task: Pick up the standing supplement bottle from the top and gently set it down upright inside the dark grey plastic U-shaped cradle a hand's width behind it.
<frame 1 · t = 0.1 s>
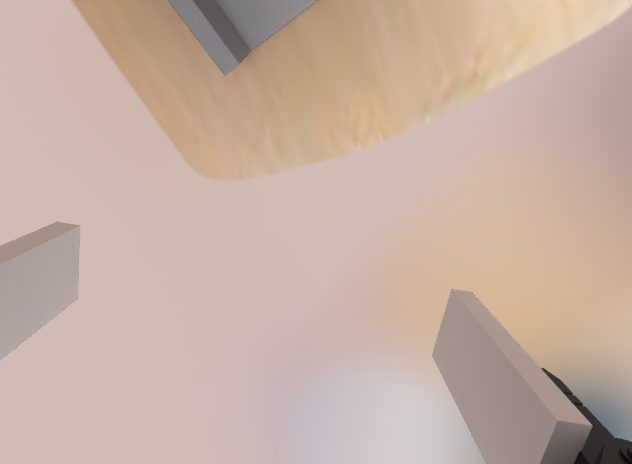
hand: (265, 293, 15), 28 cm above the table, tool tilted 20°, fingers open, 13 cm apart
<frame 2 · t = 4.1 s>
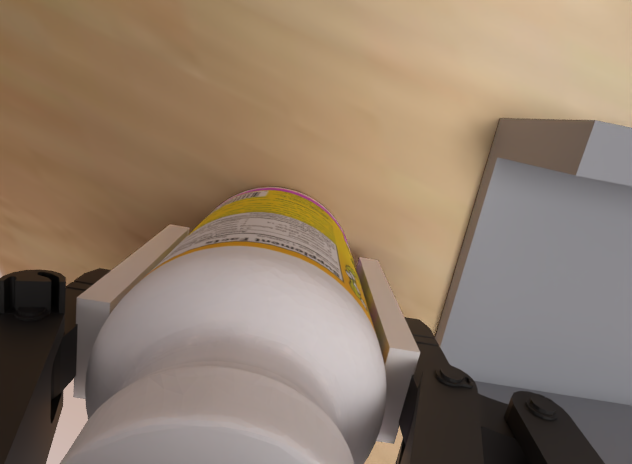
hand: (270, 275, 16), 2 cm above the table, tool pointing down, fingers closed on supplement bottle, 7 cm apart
supplement bottle: (275, 256, 18), on the table, touching gripper
u cradle: (603, 292, 19), on the table
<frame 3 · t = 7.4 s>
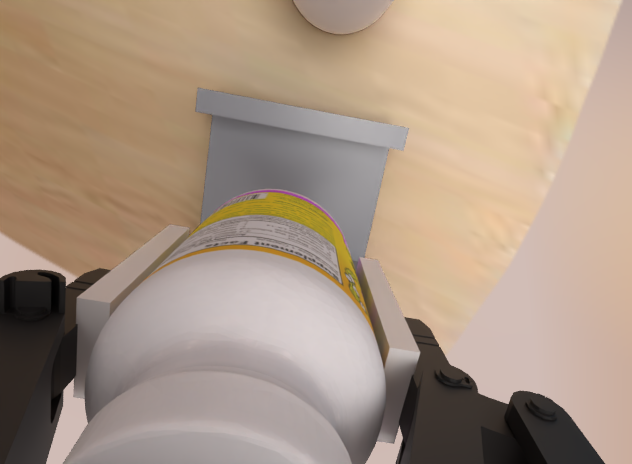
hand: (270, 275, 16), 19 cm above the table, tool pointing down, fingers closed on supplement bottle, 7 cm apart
supplement bottle: (274, 258, 18), point 17 cm above the table, touching gripper
u cradle: (292, 189, 34), on the table
when the fingers open (4 cm above the table, at t = 10.8 s): supplement bottle drops 2 cm, resting on u cradle.
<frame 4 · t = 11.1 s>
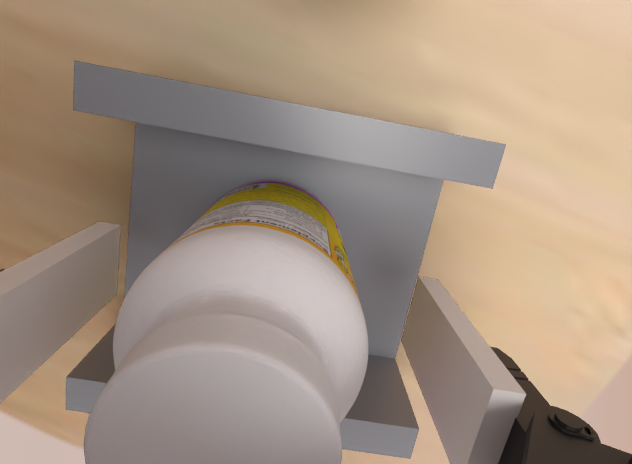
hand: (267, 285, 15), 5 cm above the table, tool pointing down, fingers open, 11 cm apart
supplement bottle: (273, 244, 20), point 1 cm above the table, touching u cradle
u cradle: (278, 241, 21), on the table
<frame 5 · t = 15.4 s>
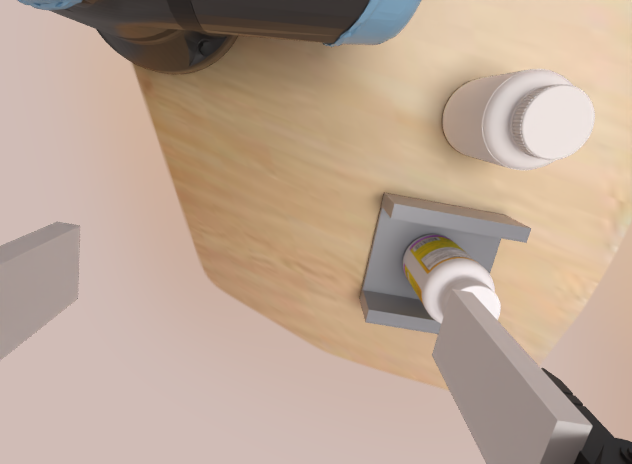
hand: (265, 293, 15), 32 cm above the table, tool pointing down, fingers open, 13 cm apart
supplement bottle: (430, 259, 47), point 1 cm above the table, touching u cradle
pill bottle: (477, 118, 44), on the table
u cradle: (430, 257, 48), on the table
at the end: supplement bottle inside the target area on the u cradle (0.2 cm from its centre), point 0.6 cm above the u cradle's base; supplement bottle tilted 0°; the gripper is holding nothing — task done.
